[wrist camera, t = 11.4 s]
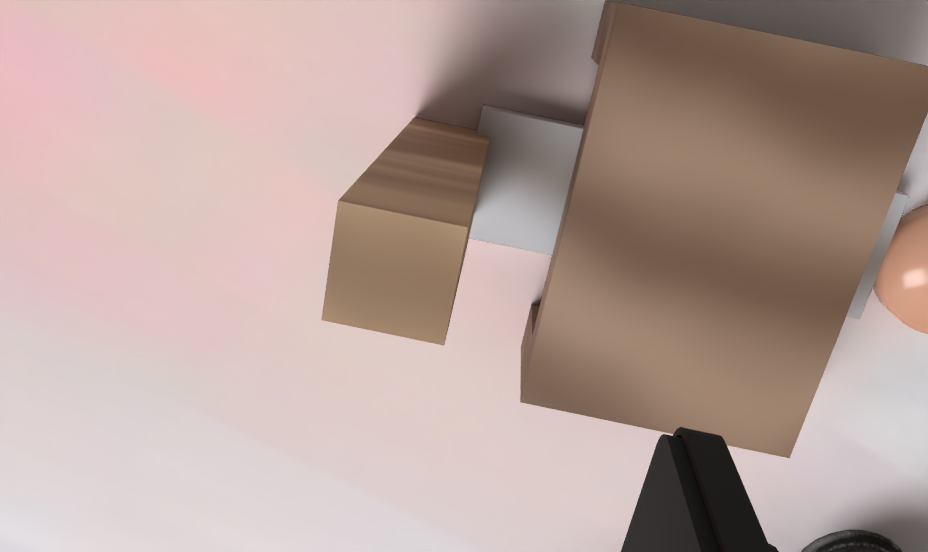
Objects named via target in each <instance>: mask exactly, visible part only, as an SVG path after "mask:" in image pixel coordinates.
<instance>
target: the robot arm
mask: <svg viewBox="0 0 928 552" xmlns="http://www.w3.org/2000/svg"><path fill="white" fill-rule="evenodd" d="M621 552H778V550H777V548H776V547H774V546H772V545H771V544H768V542H767V540H766V537H765V535H764V533H763V530H762V528H761V526H760V523H759V521H758V519H757V516H756V514H755V511H754V509H753V507H752V504H751V502H750V500H749V497H748V495H747V493H746V490H745V488H744V485H743V483H742V481H741V478H740V476H739V474H738V471H737V469H736V466H735V464H734V462H733V459H732V457H731V455H730V452H729V450H728V448H727V445H726V443H725V440H724V439H723V437H722V436H720V435H716V434H712V433H707V432H702V431H697V430H693V429H688V428H683V427H679V428H678V429H676V431H675V432H674V434H673V436H670V435H665V434H663V435H661V437H660V438H659V440H658V443H657V445H656V448H655V451H654V454H653V457H652V460H651V463H650V466H649V469H648V472H647V475H646V478H645V481H644V484H643V487H642V490H641V493H640V496H639V499H638V502H637V505H636V508H635V511H634V514H633V517H632V520H631V523H630V526H629V529H628V532H627V535H626V538H625V541H624V544H623V547H622V550H621Z"/></svg>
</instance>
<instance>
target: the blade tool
mask: <svg viewBox="0 0 928 552" xmlns="http://www.w3.org/2000/svg"><path fill="white" fill-rule="evenodd" d="M583 129H584V125H580V124H575V123H570V122H565V121H560V120H555V119H551V118H546V117H541V116H536V115H531V114H526V113H521V112H517V111H512V110H507V109H502V108H497V107H492V106H487V105H483V107H482V110H481V115H480V120H479V126H478V130H473V129H468V128H463V127H458V126H453V125H448V124H444V123H439V122H434V121H429V120H424V119H419V118H413V119H412V121H411V122H410V123H409V124H408V125H407V126H406V127H405V128H404V129H403V130H402V132H401V133H400V134H399V135H398V136H397V137H396V138H395V139H394V140H393V141H392V142H391V144H390V145H389V146H388V147H387V148H386V149H385V150H384V151H383V152H382V153H381V154H380V156H379V157H378V158H377V159H376V160H375V161H374V162H373V163H372V164H371V165H370V167H369V168H368V169H367V170H366V171H365V172H364V173H363V174H362V175H361V176H360V177H359V179H358V180H357V181H356V182H355V183H354V184H353V185H352V186H351V187H350V188H349V189H348V191H347V192H346V193H345V194H344V195H343V196H342V197H341V198H340V199H339V200H338V206H337V213H336V220H335V227H334V235H333V242H332V249H331V256H330V263H329V270H328V278H327V285H326V292H325V299H324V306H323V314H322V320H324V321H329V322H334V323H338V324H343V325H348V326H353V327H358V328H363V329H367V330H372V331H377V332H382V333H387V334H392V335H396V336H401V337H406V338H411V339H416V340H421V341H426V342H430V343H435V344H440V345H444V344H445V340H446V335H447V331H448V326H449V322H450V318H451V313H452V309H453V305H454V300H455V296H456V291H457V287H458V283H459V278H460V274H461V270H462V265H463V261H464V257H465V252H466V248H467V243H468V239H474V240H479V241H484V242H489V243H494V244H499V245H503V246H508V247H513V248H518V249H523V250H528V251H533V252H537V253H542V254H547V255H552V254H553V250H554V246H555V242H556V238H557V234H558V230H559V226H560V222H561V218H562V214H563V210H564V206H565V202H566V197H567V193H568V189H569V185H570V181H571V177H572V173H573V169H574V165H575V161H576V157H577V153H578V149H579V145H580V141H581V137H582V133H583ZM908 199H909V196H908V195H906V194H904V193H903V192H901V191H899V190H896V193H895V195H894V198H893V200H892V203H891V205H890V208H889V210H888V213H887V215H886V218H885V220H884V223H883V225H882V228H881V230H880V233H879V235H878V238H877V240H876V243H875V245H874V248H873V250H872V253H871V255H870V258H869V260H868V263H867V265H866V268H865V270H864V273H863V275H862V278H861V280H860V283H859V285H858V288H857V290H856V293H855V295H854V298H853V300H852V303H851V305H850V308H849V310H848V313H847V315H846V316H848V317H853V318H858V319H860V317H861V315H862V312H863V310H864V307H865V305H866V302H867V300H868V297H869V295H870V292H871V290H872V287H873V285H874V283H875V280H876V278H877V275H878V273H879V270H880V268H881V265H882V263H883V260H884V258H885V255H886V253H887V250H888V248H889V245H890V243H891V241H892V238H893V236H894V233H895V231H896V228H897V226H898V223H899V221H900V218H901V216H902V213H903V211H904V208H905V206H906V203H907V201H908Z"/></svg>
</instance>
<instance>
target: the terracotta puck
mask: <svg viewBox="0 0 928 552" xmlns="http://www.w3.org/2000/svg"><path fill="white" fill-rule="evenodd" d="M873 289H874V291H875V294H876V296H877V297H878V299H879V301H880V302H881V303H882V304H883V305H884V306H885V307H886V308H887V309H888V310H889V311H890V312H891V313H893V314H894V315H895V316H896V317H897V318H898V319H900V320H901V321H902V322H903V323H904V324H906V325H907V326H909V327H910V328H913V329H915V330H917V331H920V332H923V333H926V334H928V205H925V206H922V207H920V208H917V209H915V210H913V211H911V212H910V213H908V214H906V215H905V216H903V217H902V218H900V221H899V223H898V226H897V228H896V231H895V233H894V236H893V238H892V241H891V243H890V245H889V248H888V250H887V253H886V255H885V258H884V260H883V263H882V265H881V268H880V270H879V273H878V275H877V278H876V280H875V283H874V285H873Z"/></svg>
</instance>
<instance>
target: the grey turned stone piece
mask: <svg viewBox="0 0 928 552" xmlns="http://www.w3.org/2000/svg"><path fill="white" fill-rule="evenodd" d="M801 552H902V551H901V550H900V549H899V548H898V547H897V546H896V545H895V544H894V543H893V542H892V541H891V540H889V539H887V538H885V537H883V536H881V535H879V534H876V533H871V532H867V531H841V532H837V533H832V534H829V535H826V536H824V537H822V538H819V539H817V540H815V541H814V542H812V543H811V544H810V545H808V546H807V547H806V548H804V549H803V550H802V551H801Z"/></svg>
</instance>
